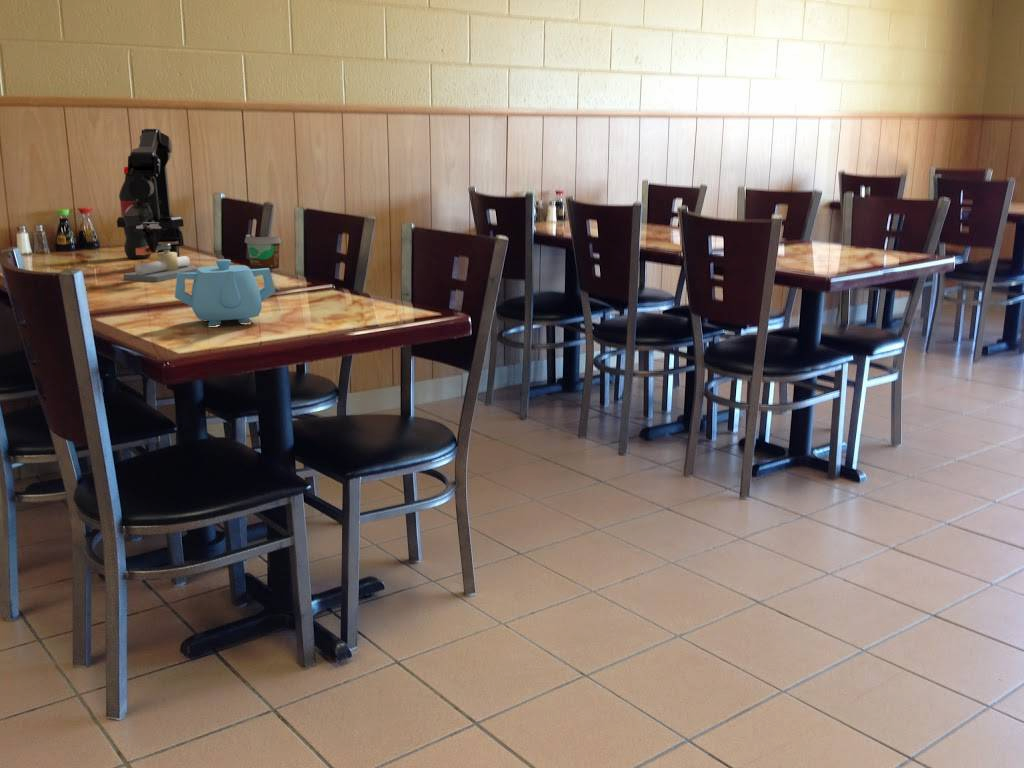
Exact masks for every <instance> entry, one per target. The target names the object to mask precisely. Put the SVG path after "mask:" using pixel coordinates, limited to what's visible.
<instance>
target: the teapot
mask: <svg viewBox="0 0 1024 768" xmlns="http://www.w3.org/2000/svg"><path fill="white" fill-rule="evenodd" d="M231 261H232V260H231V259H228V258H226V259H225V258H224V259H221V258H220V259H217V260H215V262H216V265H215V266H214V265H213V266H203V267H202V266H199V267H200V268H198V269H197V271H196V272H181V273H177V278H176V282H175V292H174V297H175V299H177V300H178V301H181V302H182V303H184V304H185V305H187V306H189V307H191V309H192V312H193V313H194V314H195V316H196V318H197V319H199V320H200V321H204V320H206V321H209V322H208V324H207V326H216V325H220V324H221V325H222V321H231V320H237V319H238V324H239V323H249V322H252V321H251V320H250V319H251V318H257V317H259V316H260V313H261V311H262V307H263V302H264V301H265V300H267V299H268V298H269V297H271V296H272V295H274V294H275V293H276V288H275V284H274V282H273V276H272V274H271V273H272V272H271V269H269V268H262V269H252V268H251V267H249V266H247V265H245V264H243V265H242V264H238V265H236V264H235V265H233V264H231V263H232V262H231ZM259 276H262V278H263V279H262V280H263V285H264V287H262V288H261V289H260V288H259V286H258V283H257V280H256V278H255V277H259ZM186 280H193V282H192V287H191V294H190V293H187V292H186Z"/></svg>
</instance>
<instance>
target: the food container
mask: <svg viewBox="0 0 1024 768" xmlns="http://www.w3.org/2000/svg"><path fill="white" fill-rule="evenodd" d="M280 237H281V236H280V235H278V236H261V237H260V236H258V237H257V236H251V234H246V235H245V238H244V243H245V244H246V246H247V251H248V258H249V259H248V260H249V265H250V269H262V268H269V269H270V270H275V269H280V248H281V247H280V245H281V243H282V239H281V238H280Z"/></svg>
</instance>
